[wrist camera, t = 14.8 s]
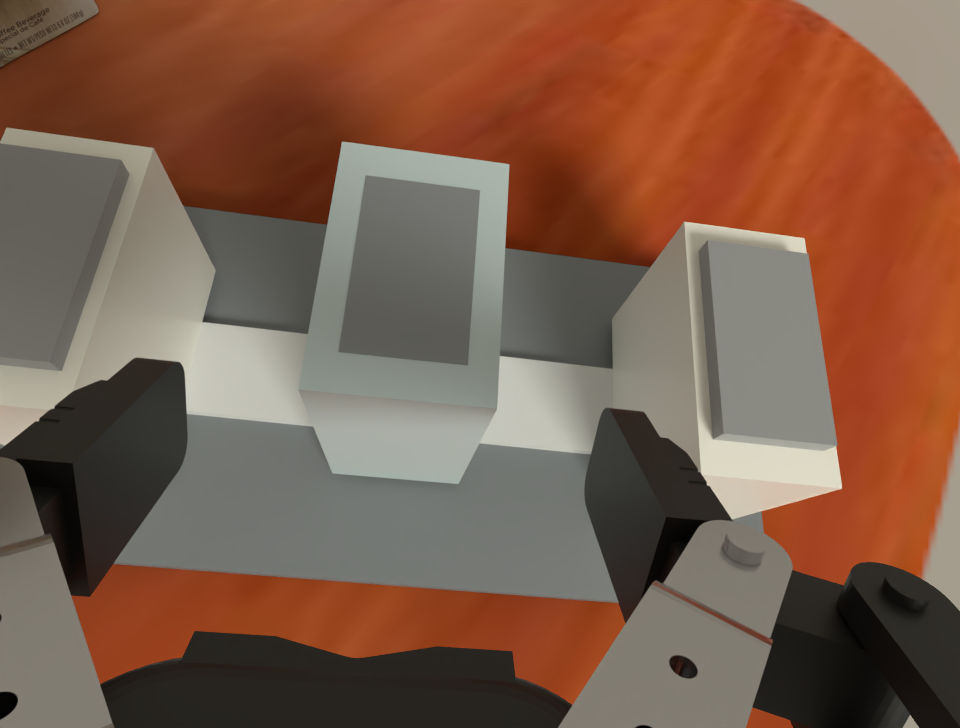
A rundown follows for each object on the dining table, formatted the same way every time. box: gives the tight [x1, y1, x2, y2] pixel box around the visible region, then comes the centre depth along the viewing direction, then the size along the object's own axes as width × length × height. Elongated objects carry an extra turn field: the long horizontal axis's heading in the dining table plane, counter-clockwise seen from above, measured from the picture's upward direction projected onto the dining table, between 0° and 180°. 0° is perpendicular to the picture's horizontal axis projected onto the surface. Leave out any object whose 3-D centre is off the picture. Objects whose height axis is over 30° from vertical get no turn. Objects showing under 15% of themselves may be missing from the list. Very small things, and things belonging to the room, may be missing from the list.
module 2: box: [612, 222, 842, 519], centre depth 21 cm, size 4×8×8 cm, turn 175°
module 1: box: [0, 128, 216, 446], centre depth 19 cm, size 4×8×8 cm, turn 175°
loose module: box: [298, 142, 509, 484], centre depth 20 cm, size 4×7×9 cm, turn 176°
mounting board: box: [0, 206, 764, 603], centre depth 25 cm, size 28×14×2 cm, turn 85°
